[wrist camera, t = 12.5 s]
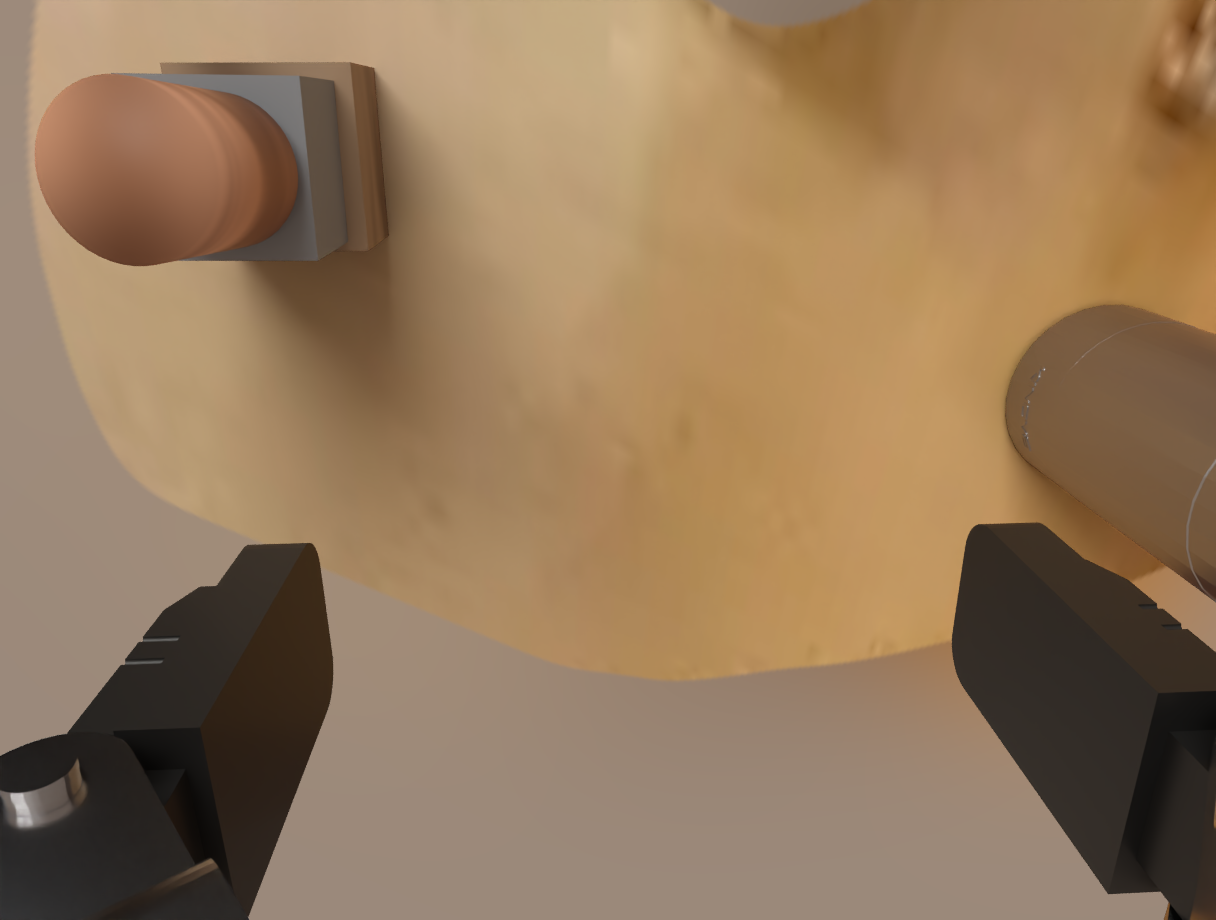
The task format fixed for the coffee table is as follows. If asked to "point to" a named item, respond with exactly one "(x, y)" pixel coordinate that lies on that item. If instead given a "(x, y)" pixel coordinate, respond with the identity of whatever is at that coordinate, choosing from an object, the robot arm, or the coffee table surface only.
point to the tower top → (315, 145)
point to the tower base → (354, 137)
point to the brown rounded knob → (162, 169)
